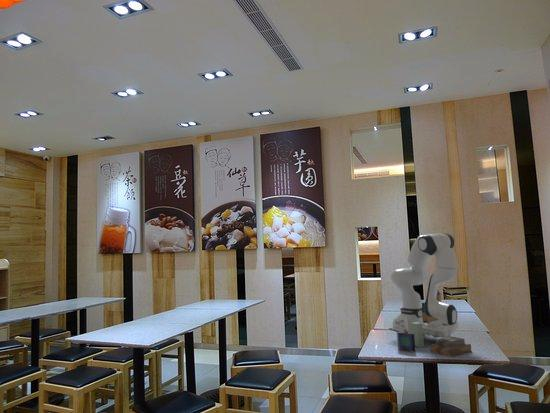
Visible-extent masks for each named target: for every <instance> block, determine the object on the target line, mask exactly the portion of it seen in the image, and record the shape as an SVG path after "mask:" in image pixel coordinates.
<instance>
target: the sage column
mask: <svg viewBox="0 0 550 413" xmlns="http://www.w3.org/2000/svg"><path fill="white" fill-rule="evenodd" d="M411 326H412V332H411V333H414V340H415V348H416V347H417V348H421V347H424V345H425V344H424V334H423V327H422V323H419V322H414V323H411Z"/></svg>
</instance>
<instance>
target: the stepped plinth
mask: <svg viewBox="0 0 550 413" xmlns="http://www.w3.org/2000/svg"><path fill="white" fill-rule="evenodd" d="M430 352H431V353H434V354H438V355H443V356H447V357H452V358H454V357H457V356H460V355H463V354H467V353H470V352H472V344H471V343H468V342H465V338H463V337H462V338H461V337H455V336H452V335H451V336H449V337H440V338H439V339H438V338H437V339H435V343H432V344H430Z"/></svg>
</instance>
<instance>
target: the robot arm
mask: <svg viewBox="0 0 550 413" xmlns="http://www.w3.org/2000/svg"><path fill="white" fill-rule="evenodd" d="M454 246H455V239H454V237H453V235H451V234H449V233H439V232H437V233H436V232H435V233H430V234H423V235H418V237H417V238H415V240H414V243H413V244H412V246H411V248H410V251H409V253H408V255H407V262H408V263H409V265H410V267H406V268H404V267H403V268H398V269H395V270H393V271H392V272H391V275H390V279H391V282H392V283H393V285H394V286H396V287H397V288H398V290H399V292H400V295H401V299H402V307H401V308H399V310H400V313H399V314H398V315H397V316H396V317H394V318H393V319H392V320H393V322H392V325H391V326H388V327H389V330H393V331H397V332H404V330H405V329H407V331H408V333H412V326H411V323H414V322H419V323H422V327H423V335H427V336H430V337H431V336H432V337H433V338H437V339H438V338H445V337H449V336H451V337H452V334H455V333H456V332H457V331H458V328H459V323H458V321H457V320H458V311H457V309H456V307H455V305H454V304H451V303H447V302H443V301H441V302H439V301H437V300H436V296H437V291H439V289H438V288H439V286H440V285H442V284H446V283H447V284H448V283H450V282H452V281H454V280H455V279H456V278H457V275H458V261H457V260H458V258H457V253H456V250H455V249H454ZM430 256H435V261H436V262H435V271H434V273H432V274H431V276H430V275H429V272H428V271H427V269H426V265H427V262H428V259H429V257H430ZM426 283H428V288H427V292H426V298H425V301H424V303H425V304H424V311H425V313H426V315H427V316H429V317H434V318H438V320H437V321H432V322H430V323H429V325H428V324H424V321H423V319H422V303H421V302H422V301H421V295H420V294H419V292H417V291H415V289H414V286H420V285H424V284H426Z"/></svg>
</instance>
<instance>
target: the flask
mask: <svg viewBox="0 0 550 413" xmlns="http://www.w3.org/2000/svg"><path fill="white" fill-rule="evenodd" d="M396 337H397V338H396V339H397V349H398V350H400V351H404V350H405V351H404V352H410V353H411V352H412V353H416V346H415V340H414V333H412V332H408V331H407V329H405V330H404V332H400V331H397V332H396Z"/></svg>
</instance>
